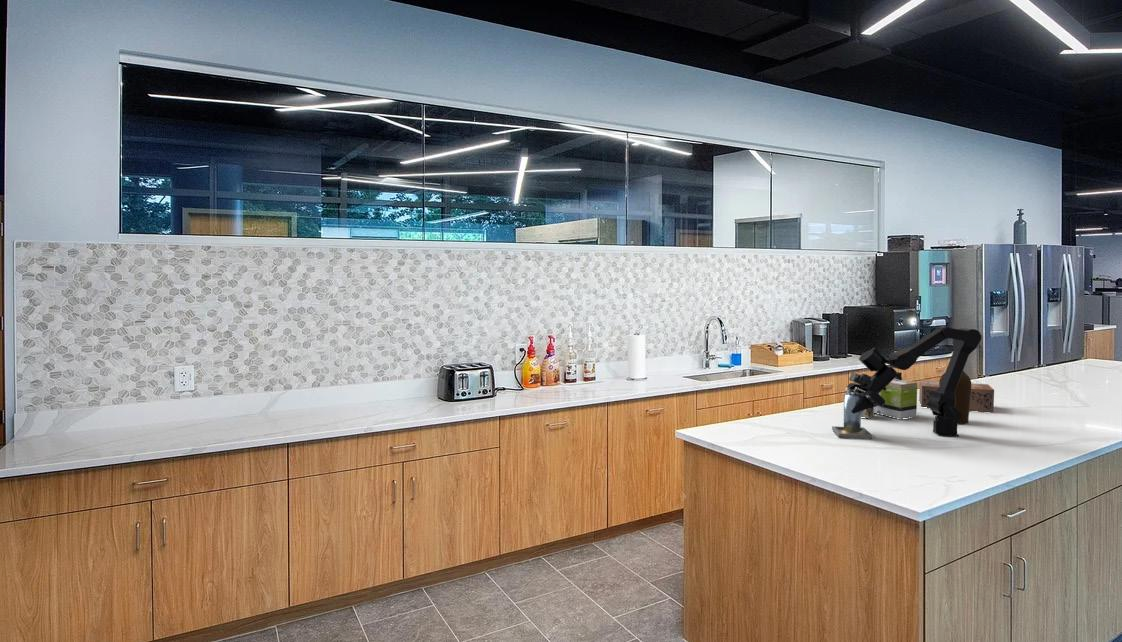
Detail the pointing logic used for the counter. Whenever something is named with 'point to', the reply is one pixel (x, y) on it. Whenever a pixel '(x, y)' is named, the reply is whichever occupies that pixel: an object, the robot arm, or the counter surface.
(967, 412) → the olive oil
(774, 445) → the counter surface
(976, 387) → the tissue box cover
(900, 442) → the counter surface
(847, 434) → the tray
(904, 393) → the tea box
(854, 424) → the spout can
